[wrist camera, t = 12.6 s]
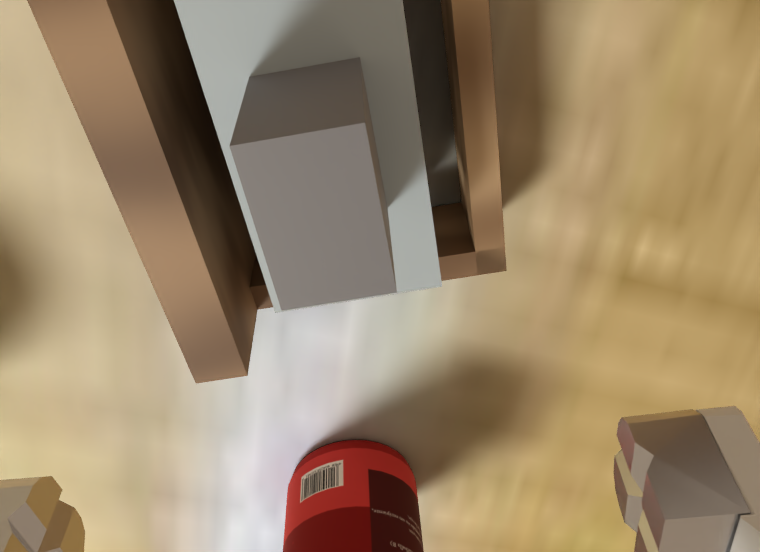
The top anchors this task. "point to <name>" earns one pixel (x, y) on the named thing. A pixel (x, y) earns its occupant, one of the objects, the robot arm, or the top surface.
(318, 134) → the cabinet block
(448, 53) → the brown wooden frame
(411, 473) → the canned food
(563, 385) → the top surface
